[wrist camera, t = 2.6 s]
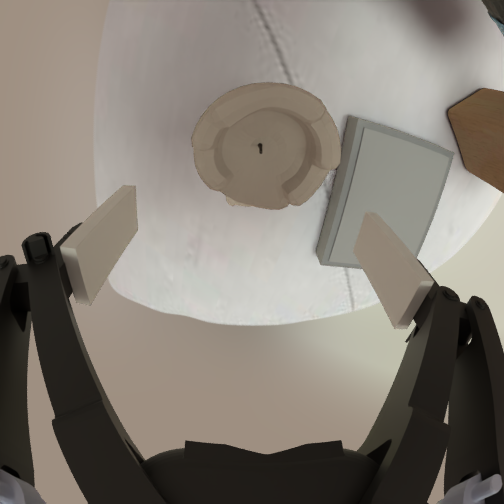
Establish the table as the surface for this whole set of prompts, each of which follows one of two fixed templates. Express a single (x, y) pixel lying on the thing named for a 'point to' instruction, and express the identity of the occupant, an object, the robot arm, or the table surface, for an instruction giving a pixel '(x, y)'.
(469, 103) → the wooden block
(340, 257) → the grey flat block
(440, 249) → the table surface
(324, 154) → the candle
